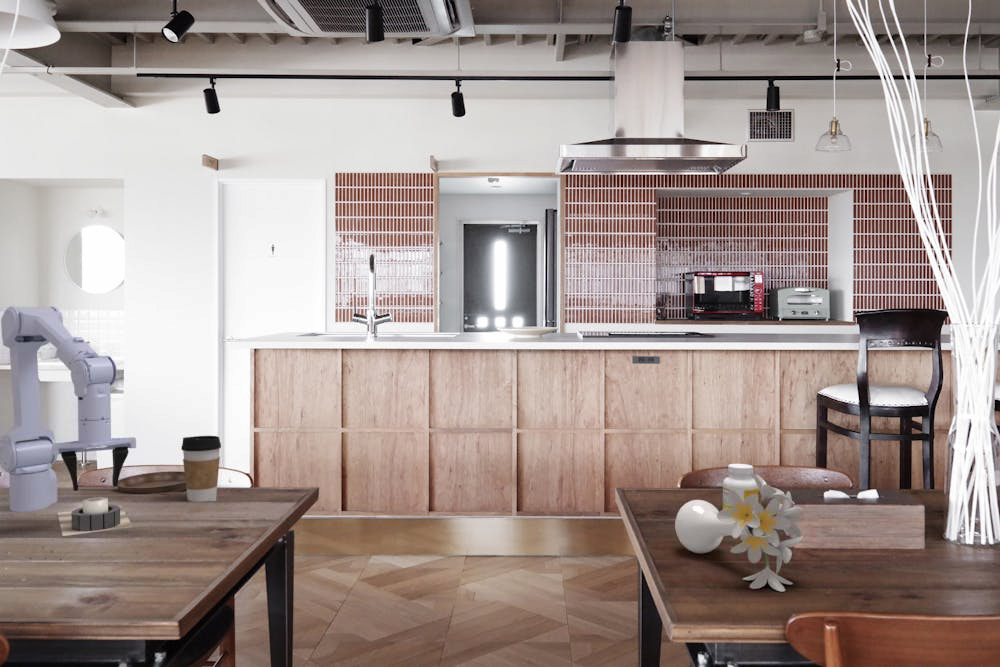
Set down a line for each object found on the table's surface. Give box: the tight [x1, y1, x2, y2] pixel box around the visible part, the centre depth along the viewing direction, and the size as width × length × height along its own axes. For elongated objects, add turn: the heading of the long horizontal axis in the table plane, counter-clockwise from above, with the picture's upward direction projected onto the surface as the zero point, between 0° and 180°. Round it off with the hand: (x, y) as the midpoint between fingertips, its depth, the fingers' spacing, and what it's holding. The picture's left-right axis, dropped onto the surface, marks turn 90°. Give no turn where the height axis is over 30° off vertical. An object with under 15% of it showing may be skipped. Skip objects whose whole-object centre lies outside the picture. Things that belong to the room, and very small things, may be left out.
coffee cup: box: [180, 435, 222, 503], centre depth 176 cm, size 8×8×15 cm
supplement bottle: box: [722, 463, 759, 510], centre depth 153 cm, size 7×7×13 cm
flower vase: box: [674, 472, 805, 593], centre depth 132 cm, size 13×18×25 cm
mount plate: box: [57, 505, 133, 537], centre depth 159 cm, size 20×12×1 cm, turn 32°
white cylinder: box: [82, 496, 109, 514], centre depth 154 cm, size 4×4×5 cm
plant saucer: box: [116, 470, 187, 494], centre depth 190 cm, size 18×18×3 cm
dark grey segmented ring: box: [71, 504, 120, 531], centre depth 154 cm, size 8×8×3 cm
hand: (95, 487), depth 154 cm, fingers open, 6 cm apart
